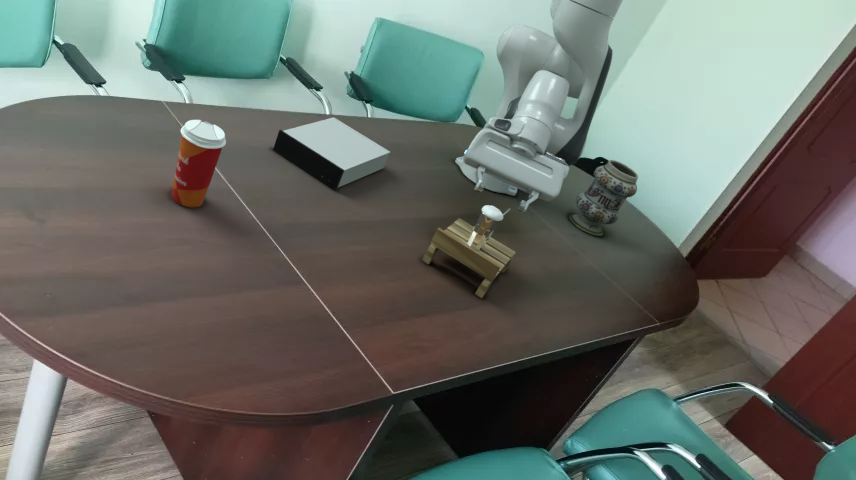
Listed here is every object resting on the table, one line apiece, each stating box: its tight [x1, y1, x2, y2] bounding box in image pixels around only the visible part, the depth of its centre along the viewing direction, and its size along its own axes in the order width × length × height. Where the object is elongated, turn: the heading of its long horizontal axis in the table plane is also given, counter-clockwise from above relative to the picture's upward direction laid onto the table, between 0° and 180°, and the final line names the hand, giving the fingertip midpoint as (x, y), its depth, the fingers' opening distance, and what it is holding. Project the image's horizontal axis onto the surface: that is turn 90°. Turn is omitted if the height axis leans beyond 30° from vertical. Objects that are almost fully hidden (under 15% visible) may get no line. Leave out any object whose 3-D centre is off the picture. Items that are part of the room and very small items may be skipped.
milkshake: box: [467, 204, 512, 251], centre depth 133 cm, size 4×5×10 cm
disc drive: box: [272, 116, 391, 191], centre depth 154 cm, size 18×22×5 cm
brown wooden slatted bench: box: [421, 217, 516, 299], centre depth 137 cm, size 17×14×8 cm
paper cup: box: [171, 119, 227, 208], centre depth 117 cm, size 8×8×14 cm
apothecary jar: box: [569, 159, 639, 237], centre depth 176 cm, size 12×12×18 cm
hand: (499, 200), depth 133 cm, fingers open, 8 cm apart
